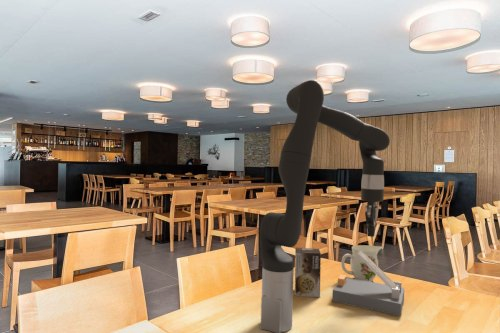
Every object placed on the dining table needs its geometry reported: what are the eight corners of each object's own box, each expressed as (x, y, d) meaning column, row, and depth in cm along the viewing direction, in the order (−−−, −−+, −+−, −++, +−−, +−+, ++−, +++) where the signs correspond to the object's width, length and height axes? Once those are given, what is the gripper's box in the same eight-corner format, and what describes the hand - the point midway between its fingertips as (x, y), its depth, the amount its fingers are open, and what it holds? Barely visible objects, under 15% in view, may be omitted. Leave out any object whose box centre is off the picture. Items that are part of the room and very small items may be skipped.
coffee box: (318, 290, 128) (319, 248, 128) (320, 297, 122) (321, 253, 121) (294, 289, 129) (295, 247, 129) (294, 296, 123) (295, 251, 122)
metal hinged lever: (396, 296, 114) (400, 292, 113) (355, 255, 120) (358, 252, 120) (397, 290, 119) (401, 287, 118) (358, 252, 125) (361, 249, 125)
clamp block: (400, 316, 109) (401, 294, 108) (332, 301, 119) (332, 281, 119) (404, 298, 123) (404, 279, 123) (342, 286, 133) (343, 268, 133)
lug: (343, 286, 123) (343, 279, 122) (337, 285, 123) (338, 278, 123) (346, 282, 127) (346, 275, 127) (341, 281, 128) (341, 274, 128)
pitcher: (335, 276, 145) (336, 244, 145) (374, 274, 148) (375, 243, 148) (346, 285, 134) (348, 251, 134) (388, 283, 137) (389, 250, 137)
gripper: (381, 189, 112) (379, 241, 113) (386, 186, 124) (384, 234, 124) (358, 187, 116) (356, 238, 116) (364, 185, 128) (363, 231, 128)
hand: (370, 236), depth 120 cm, fingers closed
